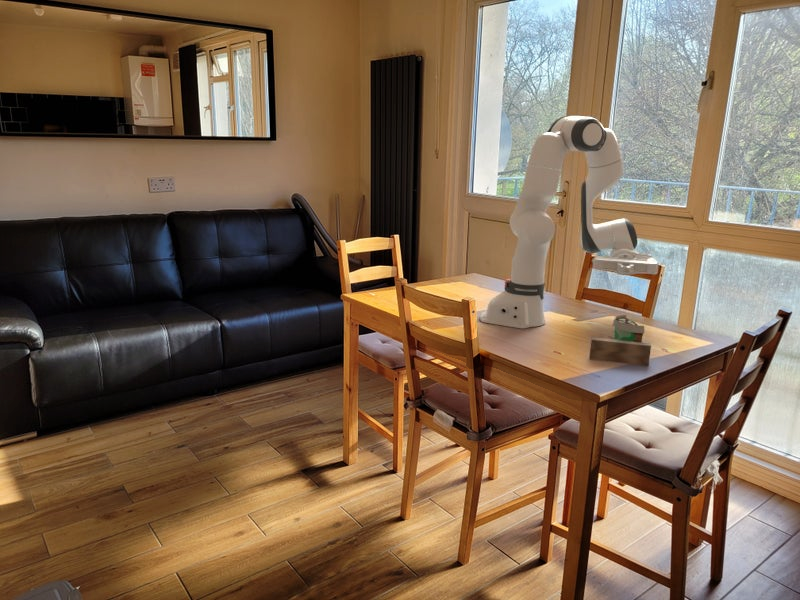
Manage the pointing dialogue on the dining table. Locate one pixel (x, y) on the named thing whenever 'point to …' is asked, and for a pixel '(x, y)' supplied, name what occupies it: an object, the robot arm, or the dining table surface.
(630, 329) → the food container
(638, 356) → the walnut bar
